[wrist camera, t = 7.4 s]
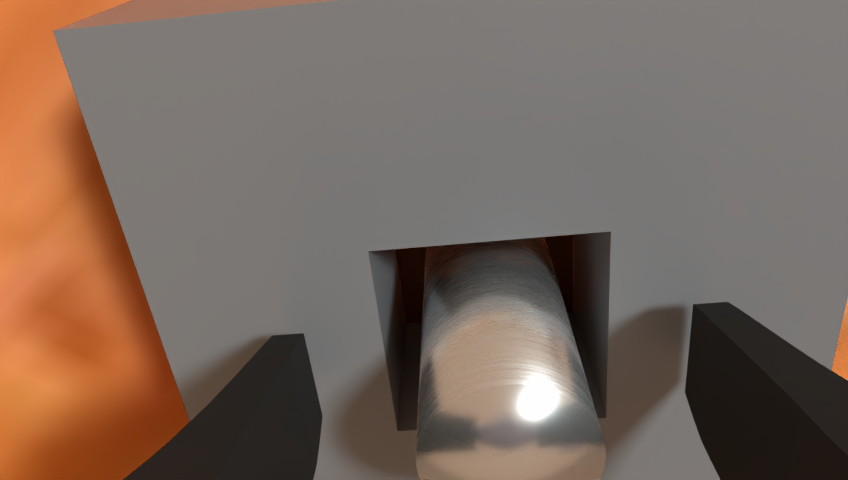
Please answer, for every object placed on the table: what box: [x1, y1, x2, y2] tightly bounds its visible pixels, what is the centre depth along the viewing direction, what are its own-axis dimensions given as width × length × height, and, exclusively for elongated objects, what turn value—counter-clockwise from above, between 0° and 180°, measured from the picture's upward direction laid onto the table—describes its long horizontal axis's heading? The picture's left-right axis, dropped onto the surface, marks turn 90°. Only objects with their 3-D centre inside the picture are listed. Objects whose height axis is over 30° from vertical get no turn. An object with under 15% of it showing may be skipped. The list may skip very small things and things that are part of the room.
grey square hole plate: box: [53, 0, 848, 480], centre depth 15 cm, size 13×13×4 cm
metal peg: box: [416, 237, 606, 480], centre depth 14 cm, size 3×3×7 cm
